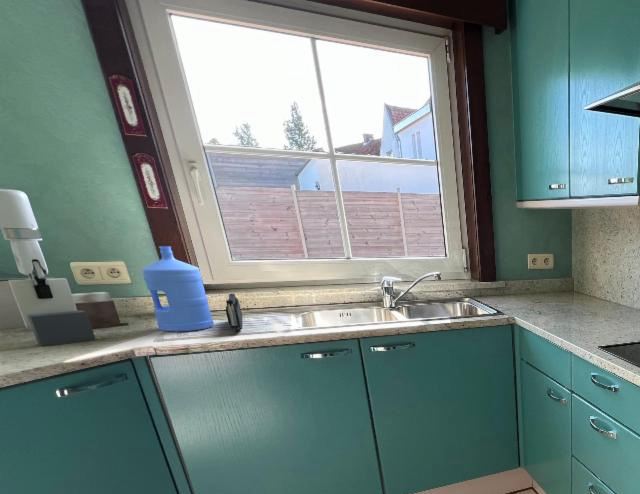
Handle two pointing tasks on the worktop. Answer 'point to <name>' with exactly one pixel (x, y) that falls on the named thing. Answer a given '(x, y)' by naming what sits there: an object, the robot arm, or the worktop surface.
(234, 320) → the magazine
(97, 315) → the book rack
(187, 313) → the water jug
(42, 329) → the dark grey rectangular block
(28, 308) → the white book
